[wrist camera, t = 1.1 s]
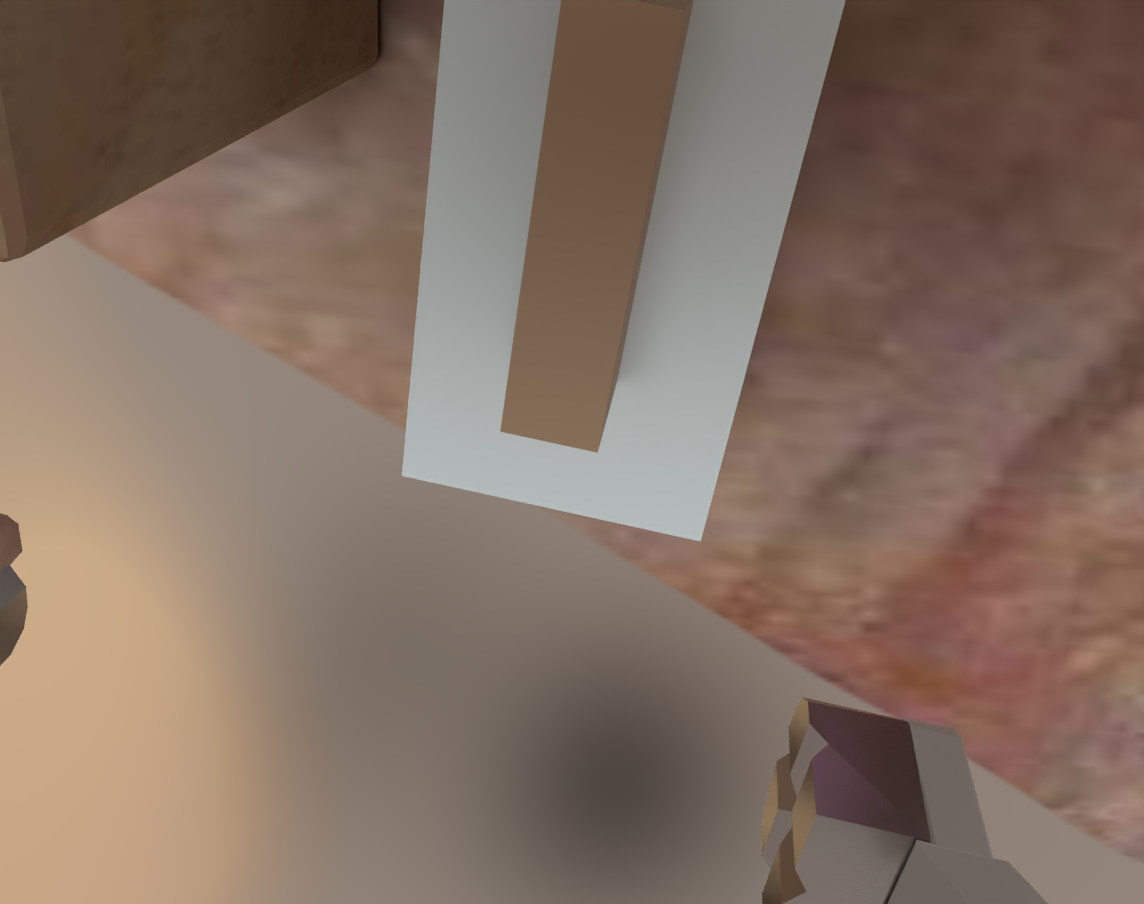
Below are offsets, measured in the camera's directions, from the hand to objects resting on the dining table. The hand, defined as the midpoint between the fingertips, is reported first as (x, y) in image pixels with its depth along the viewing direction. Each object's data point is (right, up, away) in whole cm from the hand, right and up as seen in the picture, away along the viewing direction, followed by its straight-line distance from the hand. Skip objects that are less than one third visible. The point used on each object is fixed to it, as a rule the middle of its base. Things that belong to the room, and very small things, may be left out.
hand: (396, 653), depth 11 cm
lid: (+3, +9, +17) cm, 19 cm away
